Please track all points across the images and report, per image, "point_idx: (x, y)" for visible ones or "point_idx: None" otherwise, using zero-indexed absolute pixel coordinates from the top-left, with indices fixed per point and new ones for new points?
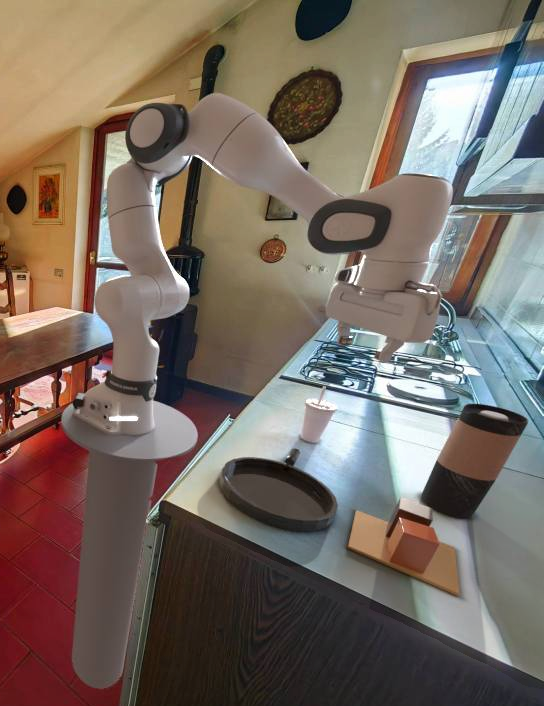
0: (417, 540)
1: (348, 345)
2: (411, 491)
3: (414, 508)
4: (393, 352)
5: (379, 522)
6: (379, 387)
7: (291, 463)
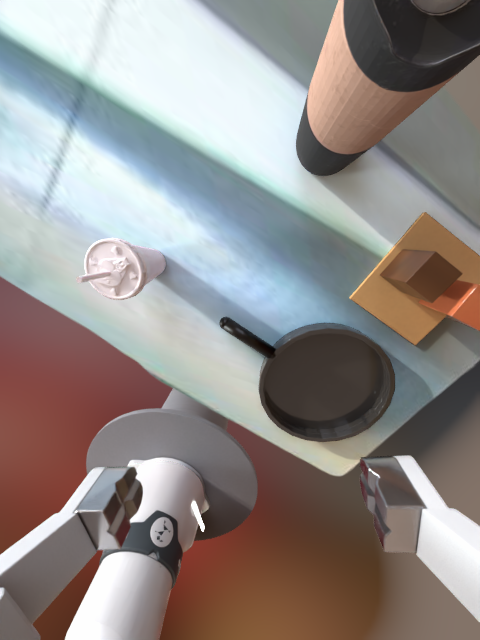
0: None
1: (134, 471)
2: (291, 175)
3: (434, 281)
4: (453, 511)
5: (375, 283)
6: None
7: (268, 349)
